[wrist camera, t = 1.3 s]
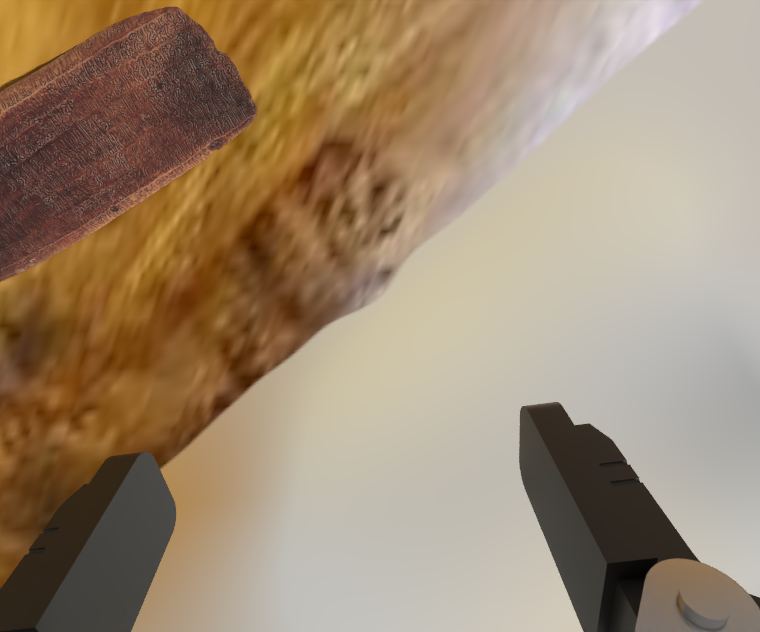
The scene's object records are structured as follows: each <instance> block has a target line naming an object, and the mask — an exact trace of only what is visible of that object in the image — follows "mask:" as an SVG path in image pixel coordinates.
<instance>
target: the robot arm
mask: <svg viewBox="0 0 760 632" xmlns="http://www.w3.org/2000/svg"><path fill="white" fill-rule="evenodd" d="M519 452H520V453H519V463H520V470H521V476H522V480H523V484H524V487H525V490H526V492H527V495H528V497H529V500H530V502H531V505H532V507H533V510H534V512H535V514H536V517H537V519H538V522H539V524H540V527H541V529H542V531H543V534H544V536H545V539H546V541H547V543H548V546H549V548H550V551H551V553H552V556H553V558H554V561H555V563H556V566H557V568H558V571H559V573H560V575H561V578H562V580H563V582H564V585H565V588H566V590H567V592H568V595H569V597H570V600H571V602H572V605H573V607H574V609H575V612H576V614H577V617H578V619H579V621H580V624H581V626H582V629H583V631H584V632H760V598H759V597H756V596H753V595H751V594H748V593H747V592H746V591H745V590H744V589H743V588H742V587H741V586H740V585H739V584H738V583H737V582H736V581H734V580H733V579H731V578H730V577H729V576H727V575H726V574H724V573H722V572H721V571H719V570H717V569H715V568H713V567H711V566H709V565H706V564H704V563H701V562H700V561H699V560H698V559H697V558H696V556H695V555H694V554H693V553H692V551H691V550H690V548H689V547H688V546H687V544H686V543H685V541H684V540H683V539H682V537H681V536H680V534H679V533H678V532H677V530H676V529H675V528H674V526H673V525H672V523H671V522H670V520H669V519H668V518H667V516H666V515H665V513H664V512H663V511H662V509H661V508H660V506H659V505H658V504H657V502H656V501H655V500H654V498H653V497H652V495H651V494H650V493H649V491H648V490H647V488H646V487H645V486H644V484H643V483H640V481H639V477H638V476H637V474H636V473H635V472H634V470H633V469H632V467H631V466H630V465H628V464H627V461H626V459H625V457H624V456H623V455H622V453H621V452H620V450H619V449H618V448H617V446H616V445H615V444H614V442H613V441H612V440H611V439H610V438H609V437H607V436H606V435H604V434H603V433H602V432H600V431H599V430H597V429H596V428H595V427H593V426H592V425H591V424H582V425H574V424H573V422H572V421H571V419H570V418H569V417H568V414H567V413H566V412H565V410H564V408H563V407H562V405H561V404H560V403H558V402H553V403H545V404H537V405H529V406H523V407H522V408H521V411H520V449H519ZM175 521H176V507H175V502H174V499H173V497H172V495H171V493H170V491H169V488H168V486H167V484H166V482H165V480H164V478H163V475H162V473H161V471H160V469H159V467H158V465H157V462H156V460H155V458H154V457H153V455H152V454H151V453H149V452H141V453H133V454H125V455H117V456H111V457H109V458H108V459H106V460H105V462H104V463H103V464H102V466H101V467H100V469H99V470H98V472H97V473H96V475H95V476H94V477H93V479H92V480H91V482H90V483H89V484H84V485H83V486H82V487H81V488H80V489H79V490H78V491H76V492H75V493H74V494H73V495H72V496H71V497H70V498H68V499H67V500H66V501H65V502H64V503H63V504H62V505H61V506H60V507H59V508H58V510H57V511H56V513H55V514H54V515H53V517H52V518H51V519H50V521H49V522H48V524H47V525H46V526H45V528H44V529H43V530H44V533H43V534H40V535H39V536H38V538H37V539H36V540H35V542H34V543H33V545H32V546H31V547H30V549H29V554H27V555H25V556H24V557H23V559H22V560H21V561H20V563H19V564H18V566H17V567H16V568H15V570H14V571H13V573H12V574H11V575H10V577H9V578H8V580H7V581H6V582H5V584H4V585H3V587H2V588H1V589H0V632H131V630H132V628H133V625H134V623H135V621H136V618H137V616H138V614H139V611H140V609H141V606H142V604H143V602H144V599H145V597H146V595H147V592H148V589H149V587H150V585H151V583H152V580H153V578H154V576H155V573H156V571H157V568H158V566H159V563H160V561H161V559H162V556H163V554H164V552H165V549H166V547H167V544H168V542H169V540H170V537H171V535H172V533H173V530H174V526H175Z"/></svg>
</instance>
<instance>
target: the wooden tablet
mask: <svg viewBox="0 0 760 632" xmlns="http://www.w3.org/2000/svg"><path fill="white" fill-rule="evenodd" d="M256 114H257V109H256V105H255V104H254V102H253V100H252V97H251V94H250V92H249V91H248V89H247V88H246V86H245V85H244V83H243V81H242V79H241V77H240V74H239V72H238V70H237V68H236V66H235V64H234V63H233V62H232V61H231V59H230V58H229V57H228V56H227V55H226V54H224V53H221V52H220V51H219V50H218V49H216V48H215V45H214V41H213V40H212V39H211V37H210V36H209V35H208V33H207V32H206V31H205V30H204V29H203V27H202V26H201V25H199V24H198V23H196V22H195V21H194V20H192V19H191V18H190V17H189V16H188V15H187V14H186V13H185V12H184V11H183V10H182V9H180V8H178V7H165V8H162V9H157V10H153V11H150V12H144V13H142V14H139V15H136V16H132V17H129V18H127V19H124V20H123V21H121V22H118V23H115V24H113V25H111V26H109V27H107V28H105V29H104V30H102V31H100V32H99V33H97V34H95V35H94V36H92V37H90V38H89V39H88V40H86V41H85V42H83V43H81V44H79V45H78V46H76V47H74V48H73V49H71V50H69V51H68V52H66V53H65V54H63V55H61V56H60V57H58V58H57V59H55V60H53V61H52V62H50V63H49V64H47V65H45V66H43V67H42V68H40V69H39V70H37V71H35V72H33V73H32V74H30V75H29V76H27V77H25V78H24V79H22V80H20V81H18V82H16V83H14V84H13V85H11V86H9V87H7V88H5V89H4V90H2V91H1V92H0V282H1V281H3V280H6V279H8V278H10V277H13V276H15V275H17V274H19V273H22V272H24V271H26V270H28V269H29V268H31V267H33V266H35V265H37V264H39V263H41V262H42V261H44V260H47V259H49V258H50V257H52V256H53V255H55V254H57V253H59V252H61V251H63V250H64V249H66V248H68V247H70V246H71V245H73V244H74V243H76V242H78V241H80V240H81V239H83V238H85V237H87V236H88V235H90V234H91V233H93V232H95V231H96V230H98V229H100V228H101V227H103V226H105V225H106V224H108V223H109V222H111V221H112V220H113V219H115V218H116V217H118V216H119V215H121V214H123V213H124V212H126V211H127V210H128V209H130V208H132V207H133V206H135V205H137V204H138V203H140V202H142V201H143V200H145V199H146V198H148V197H149V196H150V195H152V194H153V193H155V192H156V191H158V190H159V189H161V188H163V187H164V186H166V185H167V184H169V183H170V182H171V181H173V180H174V179H176V178H177V177H179V176H180V175H182V174H184V173H185V172H187V171H188V170H190V169H191V168H192V167H194V166H195V165H197V164H199V163H200V162H201V161H203V160H205V159H206V158H208V157H209V156H211V154H212V152H213V151H214V150H219V149H220V148H222V147H223V146H224V145H225V144H227V143H228V142H230V141H231V140H232V139H234V138H235V137H236V136H238V135H239V134H240V133H241V132H242V131H244V130H245V128H246V127H248V126H249V124H250V123H251V122H252V121H253V120H254V118H255V116H256Z"/></svg>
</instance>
